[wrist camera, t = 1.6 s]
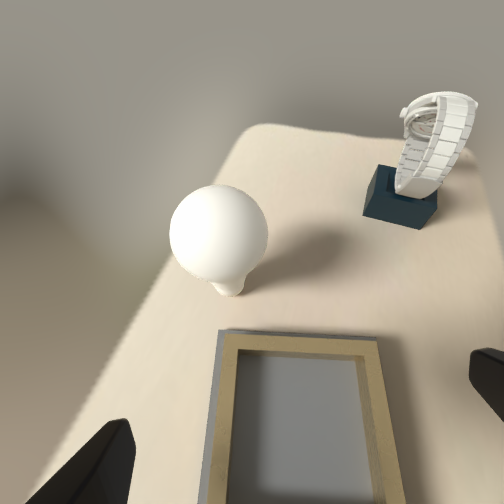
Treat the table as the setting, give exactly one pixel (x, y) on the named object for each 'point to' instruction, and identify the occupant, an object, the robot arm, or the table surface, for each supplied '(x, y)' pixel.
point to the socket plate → (298, 422)
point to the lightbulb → (219, 236)
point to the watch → (426, 169)
